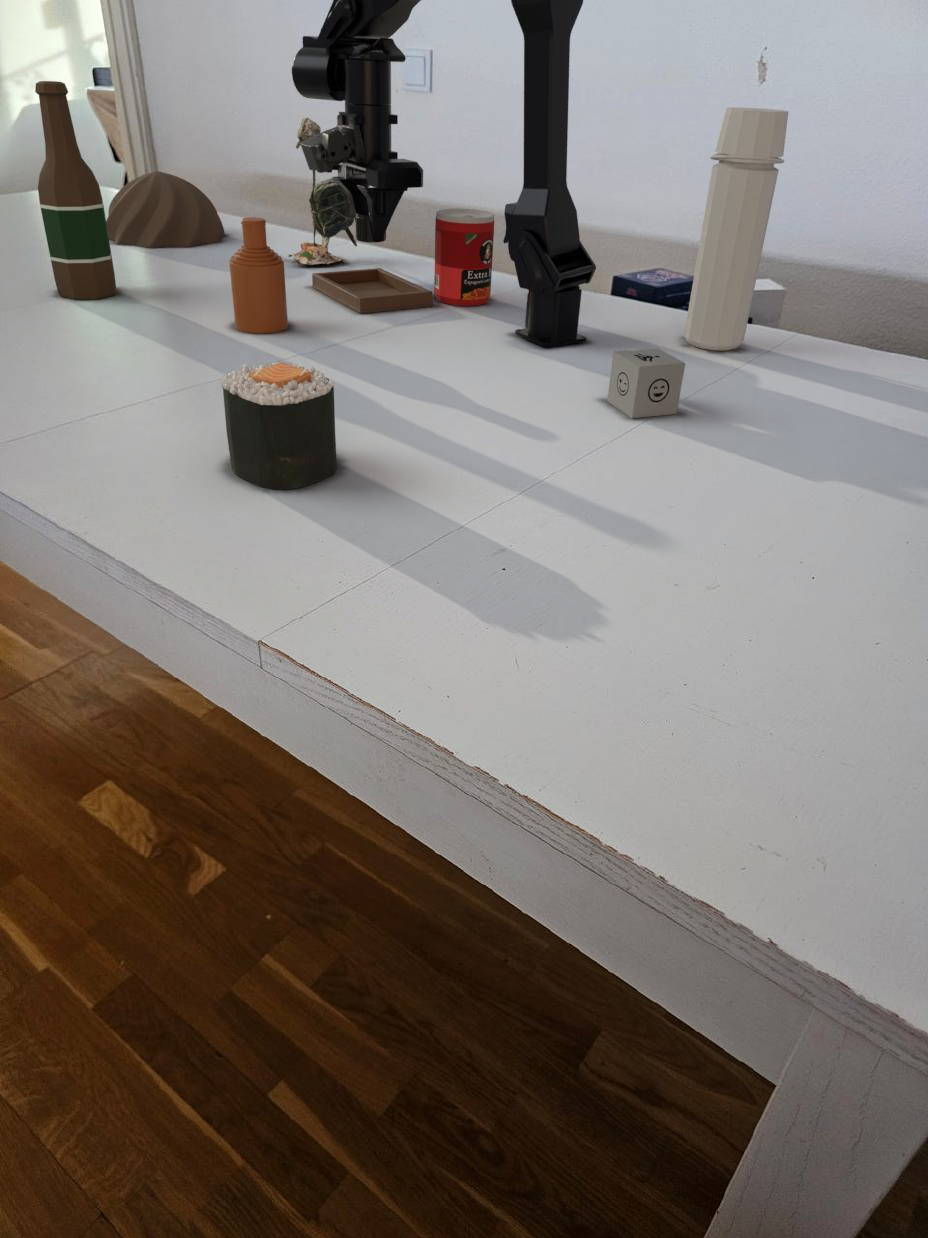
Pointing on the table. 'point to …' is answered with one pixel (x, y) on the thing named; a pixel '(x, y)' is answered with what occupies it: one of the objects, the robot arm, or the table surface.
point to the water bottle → (734, 226)
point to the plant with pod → (324, 210)
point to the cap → (364, 227)
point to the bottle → (258, 282)
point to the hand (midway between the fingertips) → (370, 239)
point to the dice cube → (645, 382)
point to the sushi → (280, 425)
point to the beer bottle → (71, 205)
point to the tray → (371, 290)
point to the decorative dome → (162, 214)
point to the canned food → (463, 256)
